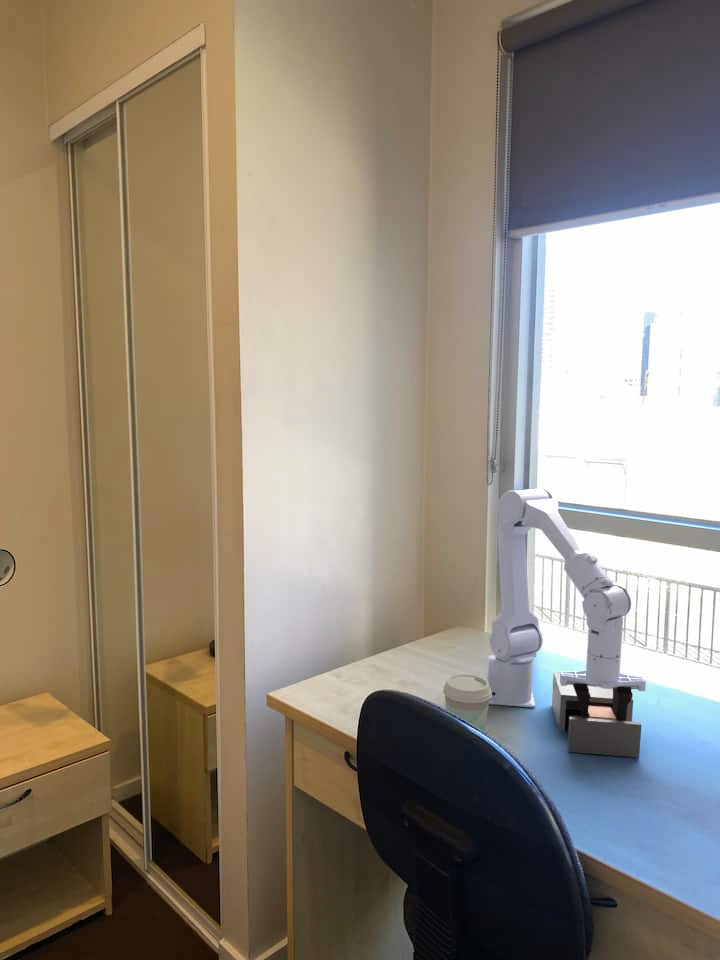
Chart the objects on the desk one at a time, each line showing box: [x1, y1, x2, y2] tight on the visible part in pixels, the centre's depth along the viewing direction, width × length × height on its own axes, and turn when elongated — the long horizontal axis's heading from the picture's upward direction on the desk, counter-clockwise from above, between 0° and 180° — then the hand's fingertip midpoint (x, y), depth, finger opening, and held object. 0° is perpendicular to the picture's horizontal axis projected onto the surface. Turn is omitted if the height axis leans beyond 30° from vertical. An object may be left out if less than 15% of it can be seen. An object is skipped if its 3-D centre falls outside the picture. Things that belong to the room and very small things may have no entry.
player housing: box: [551, 671, 634, 732], centre depth 139 cm, size 13×11×7 cm
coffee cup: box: [442, 673, 492, 733], centre depth 128 cm, size 8×8×12 cm
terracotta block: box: [588, 706, 616, 720], centre depth 130 cm, size 4×4×4 cm
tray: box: [567, 714, 642, 758], centre depth 131 cm, size 12×11×6 cm
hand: (599, 724), depth 130 cm, fingers closed on terracotta block, 4 cm apart
